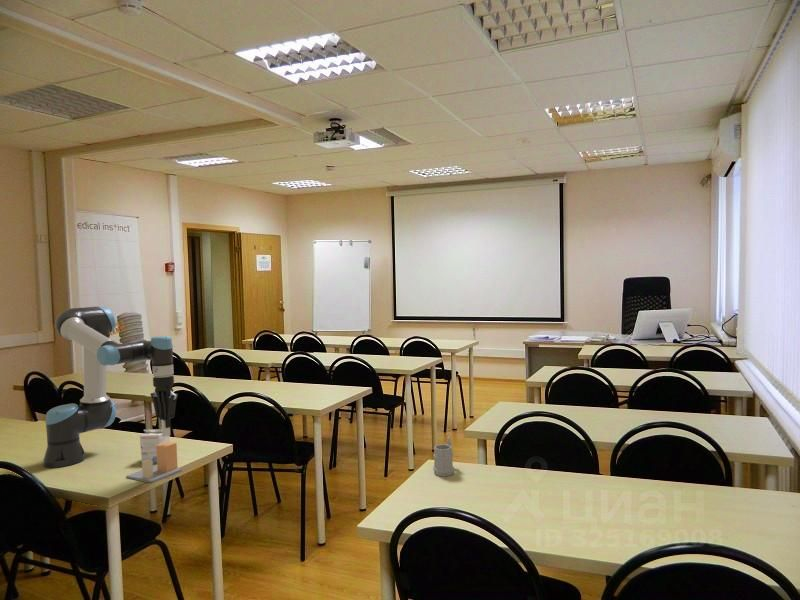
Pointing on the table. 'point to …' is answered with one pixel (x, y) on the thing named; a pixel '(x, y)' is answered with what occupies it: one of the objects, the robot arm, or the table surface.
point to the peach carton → (166, 456)
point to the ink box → (151, 444)
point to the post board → (155, 475)
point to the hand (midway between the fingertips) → (166, 435)
